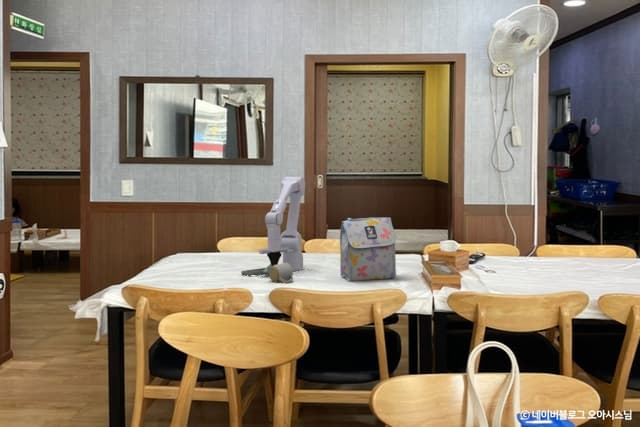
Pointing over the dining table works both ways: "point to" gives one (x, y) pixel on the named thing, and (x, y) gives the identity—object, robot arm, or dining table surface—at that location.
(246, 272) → the grey open box
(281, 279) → the ceramic mug
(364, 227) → the lunch bag
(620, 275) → the dining table surface
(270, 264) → the cover
